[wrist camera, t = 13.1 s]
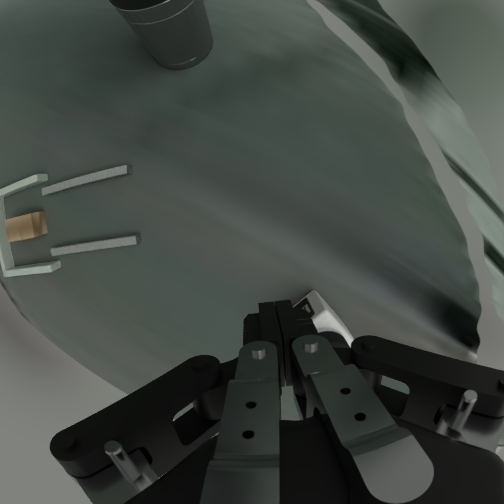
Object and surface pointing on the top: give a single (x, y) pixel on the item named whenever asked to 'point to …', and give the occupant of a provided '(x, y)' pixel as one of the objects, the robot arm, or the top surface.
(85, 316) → the top surface
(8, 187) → the frame
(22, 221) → the tan cube
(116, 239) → the slot rails
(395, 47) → the top surface
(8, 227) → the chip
